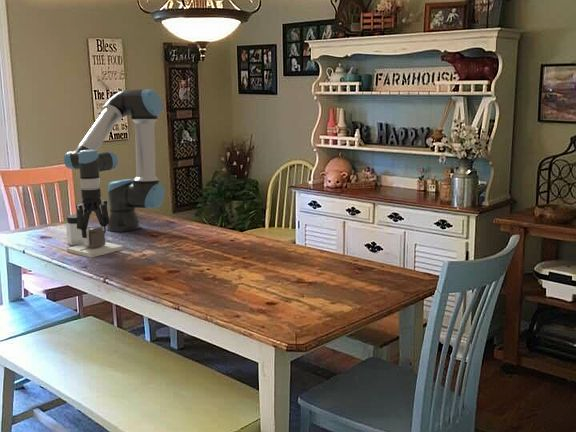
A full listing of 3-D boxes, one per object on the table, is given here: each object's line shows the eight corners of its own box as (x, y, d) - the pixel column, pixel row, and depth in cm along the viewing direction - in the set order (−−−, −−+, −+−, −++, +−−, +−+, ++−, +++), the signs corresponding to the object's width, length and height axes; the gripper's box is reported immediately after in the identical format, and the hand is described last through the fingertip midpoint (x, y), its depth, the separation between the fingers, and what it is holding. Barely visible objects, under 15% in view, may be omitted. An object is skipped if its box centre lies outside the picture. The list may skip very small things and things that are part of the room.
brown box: (106, 244, 270) (105, 226, 268) (93, 248, 265) (91, 229, 263) (96, 242, 274) (95, 224, 272) (83, 245, 268) (81, 227, 267)
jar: (91, 243, 282) (89, 216, 279) (73, 246, 277) (71, 218, 274) (83, 239, 289) (81, 213, 286) (65, 242, 284) (63, 215, 281)
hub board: (99, 243, 280) (98, 228, 279) (123, 249, 271) (122, 232, 269) (66, 251, 268) (65, 235, 266) (90, 257, 258) (89, 240, 257)
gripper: (104, 184, 274) (108, 237, 279) (63, 190, 259) (68, 247, 263) (116, 185, 270) (119, 239, 274) (75, 192, 254) (79, 249, 259)
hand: (94, 243), depth 269 cm, fingers open, 7 cm apart
